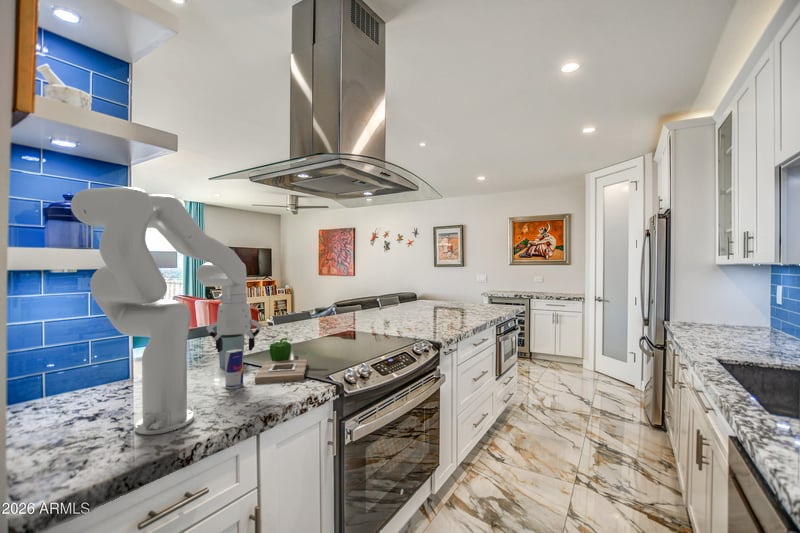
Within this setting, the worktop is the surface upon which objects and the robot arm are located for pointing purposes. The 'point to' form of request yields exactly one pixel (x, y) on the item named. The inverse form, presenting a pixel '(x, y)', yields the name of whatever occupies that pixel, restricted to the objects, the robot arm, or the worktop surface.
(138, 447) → the worktop surface
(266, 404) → the worktop surface
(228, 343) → the grey teal cup
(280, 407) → the worktop surface
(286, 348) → the bell pepper
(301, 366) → the slotted board
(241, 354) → the energy drink
